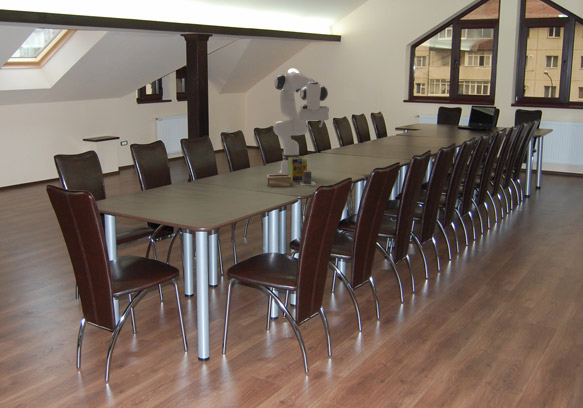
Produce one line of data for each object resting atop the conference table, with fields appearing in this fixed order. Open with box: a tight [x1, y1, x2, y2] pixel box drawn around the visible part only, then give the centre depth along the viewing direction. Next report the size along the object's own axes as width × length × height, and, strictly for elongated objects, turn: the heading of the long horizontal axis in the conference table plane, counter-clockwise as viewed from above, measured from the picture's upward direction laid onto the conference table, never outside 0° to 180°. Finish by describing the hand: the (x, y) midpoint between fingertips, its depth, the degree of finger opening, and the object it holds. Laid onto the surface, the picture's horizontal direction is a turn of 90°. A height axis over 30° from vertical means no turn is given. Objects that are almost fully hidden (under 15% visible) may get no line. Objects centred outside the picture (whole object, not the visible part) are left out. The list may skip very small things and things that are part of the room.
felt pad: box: [298, 181, 317, 187], centre depth 430 cm, size 12×10×1 cm
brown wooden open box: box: [266, 173, 292, 187], centre depth 428 cm, size 12×15×6 cm
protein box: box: [288, 156, 308, 182], centre depth 446 cm, size 10×15×16 cm
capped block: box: [303, 170, 312, 184], centre depth 429 cm, size 6×4×8 cm
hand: (313, 127), depth 431 cm, fingers open, 8 cm apart
